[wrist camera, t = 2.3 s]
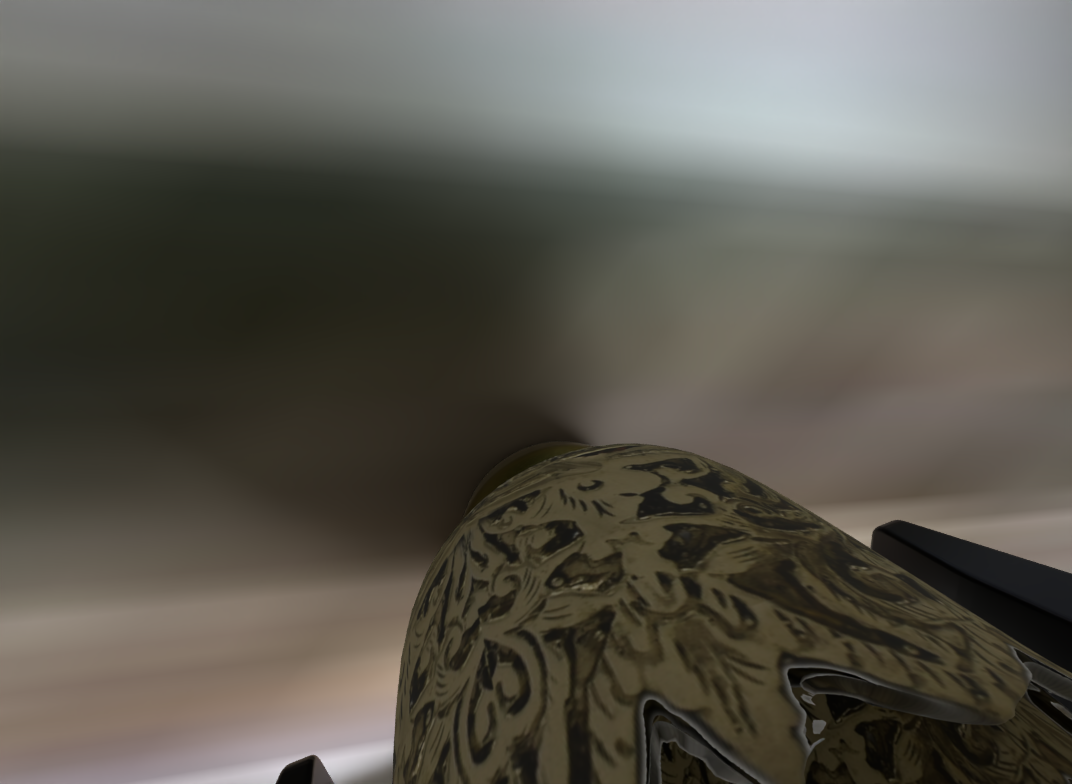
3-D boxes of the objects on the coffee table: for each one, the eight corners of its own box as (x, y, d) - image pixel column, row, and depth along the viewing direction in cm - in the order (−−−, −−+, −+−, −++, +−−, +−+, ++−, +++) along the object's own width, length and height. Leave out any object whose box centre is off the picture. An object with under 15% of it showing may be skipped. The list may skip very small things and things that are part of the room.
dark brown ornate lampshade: (259, 532, 10) (114, 1358, 3) (570, 246, 10) (1109, 527, 3) (519, 690, 14) (702, 1241, 7) (753, 486, 14) (1185, 859, 7)
